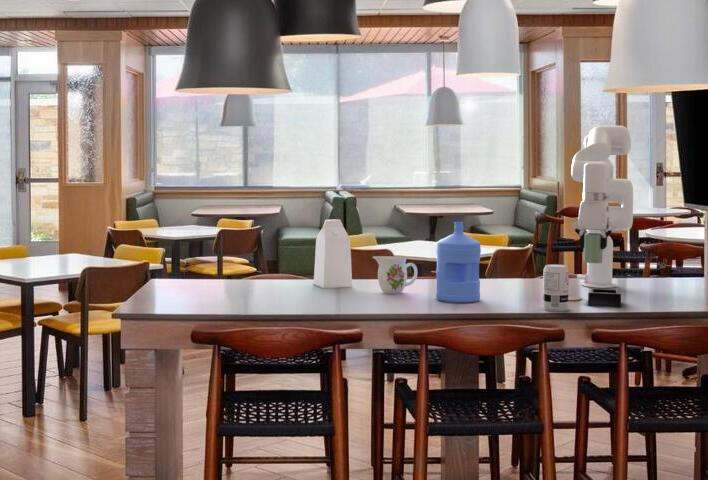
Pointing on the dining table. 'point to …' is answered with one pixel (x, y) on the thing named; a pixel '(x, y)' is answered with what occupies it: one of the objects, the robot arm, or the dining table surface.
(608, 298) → the black square frame
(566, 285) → the supplement can
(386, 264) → the pitcher
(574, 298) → the coaster
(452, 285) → the water jug
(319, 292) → the dining table surface
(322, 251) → the milk
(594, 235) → the cup
